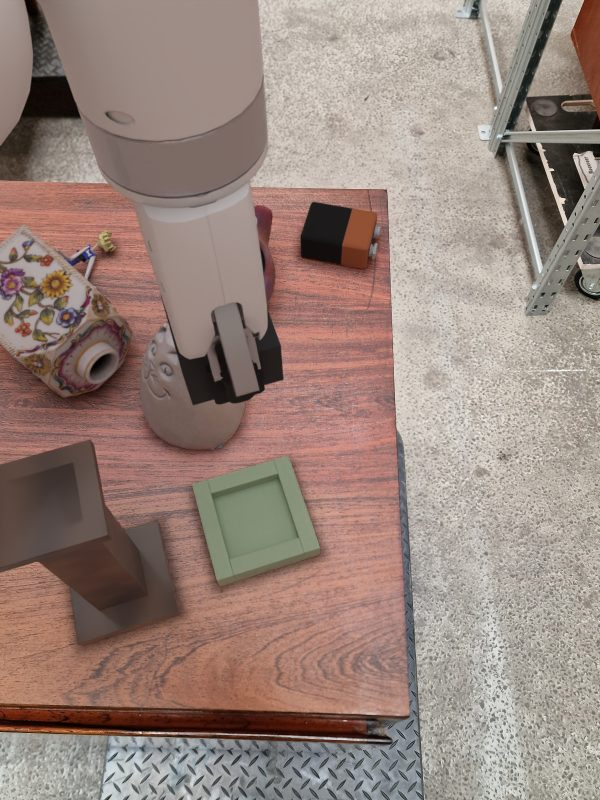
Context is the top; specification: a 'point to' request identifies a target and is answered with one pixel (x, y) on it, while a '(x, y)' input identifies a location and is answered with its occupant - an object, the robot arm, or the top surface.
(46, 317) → the floral vase
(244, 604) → the top surface
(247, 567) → the base pad
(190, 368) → the black pad
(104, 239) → the figurine
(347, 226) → the battery
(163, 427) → the sculpture
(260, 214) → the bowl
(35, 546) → the stand
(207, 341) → the robot arm
